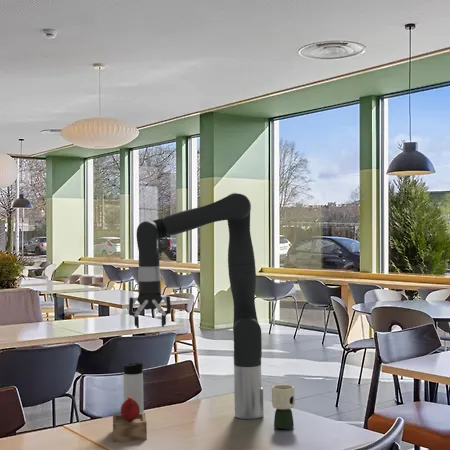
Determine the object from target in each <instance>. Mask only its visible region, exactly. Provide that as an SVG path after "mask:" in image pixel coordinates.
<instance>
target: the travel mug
mask: <svg viewBox="0 0 450 450" xmlns="http://www.w3.org/2000/svg"><path fill="white" fill-rule="evenodd" d="M143 367H144V366H143V362H131V363H128V364H123V403H124V402H125V401H126V400H127V399H128V396H130V397H131V398H132V399H133V400H135V401H136V402H137V403H138V405H139V407H140V413H145V412H144V409H145V408H144V375H143V374H144V371H143V369H144V368H143Z"/></svg>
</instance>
